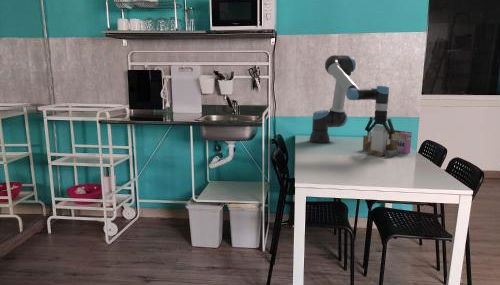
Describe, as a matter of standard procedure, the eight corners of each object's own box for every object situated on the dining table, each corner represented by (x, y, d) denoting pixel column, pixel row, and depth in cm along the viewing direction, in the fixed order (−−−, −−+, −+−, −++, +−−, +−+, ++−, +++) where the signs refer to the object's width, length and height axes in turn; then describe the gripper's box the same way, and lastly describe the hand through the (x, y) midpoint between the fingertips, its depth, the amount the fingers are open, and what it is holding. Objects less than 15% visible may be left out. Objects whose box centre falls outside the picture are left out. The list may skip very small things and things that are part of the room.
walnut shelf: (354, 151, 263) (355, 137, 261) (363, 149, 271) (364, 135, 269) (387, 158, 246) (389, 142, 244) (397, 155, 254) (398, 140, 253)
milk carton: (374, 152, 262) (377, 124, 258) (385, 154, 257) (387, 125, 254) (370, 154, 257) (372, 125, 253) (380, 155, 252) (383, 126, 249)
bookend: (384, 157, 248) (385, 151, 248) (392, 154, 256) (393, 148, 255) (388, 157, 247) (389, 151, 246) (396, 155, 254) (396, 149, 253)
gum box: (372, 148, 277) (373, 129, 274) (378, 146, 282) (379, 128, 280) (405, 153, 260) (406, 133, 257) (410, 152, 265) (412, 132, 262)
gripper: (360, 108, 258) (358, 140, 262) (396, 112, 240) (394, 146, 244) (366, 108, 263) (364, 139, 267) (402, 111, 245) (399, 144, 250)
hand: (378, 142), depth 256 cm, fingers open, 12 cm apart
